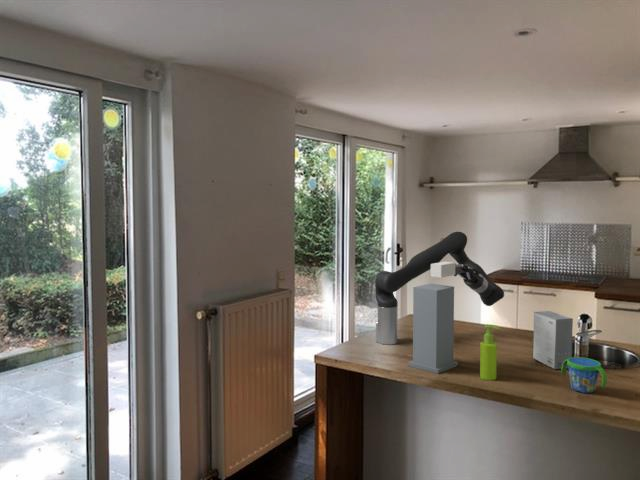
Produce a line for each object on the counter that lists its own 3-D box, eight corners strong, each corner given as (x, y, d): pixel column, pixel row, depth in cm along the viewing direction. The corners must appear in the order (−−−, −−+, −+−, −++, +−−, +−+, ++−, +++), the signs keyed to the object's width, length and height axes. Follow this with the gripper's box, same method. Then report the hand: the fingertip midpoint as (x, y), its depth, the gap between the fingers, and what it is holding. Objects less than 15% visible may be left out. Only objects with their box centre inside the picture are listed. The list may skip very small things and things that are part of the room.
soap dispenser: (497, 381, 191) (498, 328, 189) (478, 378, 195) (478, 325, 193) (500, 377, 196) (501, 324, 194) (482, 373, 200) (483, 322, 198)
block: (441, 277, 206) (441, 265, 206) (430, 276, 210) (430, 264, 209) (469, 271, 220) (469, 260, 220) (459, 270, 224) (459, 259, 224)
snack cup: (613, 395, 177) (614, 365, 177) (592, 400, 173) (593, 370, 172) (574, 380, 192) (575, 353, 191) (553, 385, 187) (554, 357, 186)
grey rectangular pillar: (437, 373, 200) (438, 291, 197) (408, 365, 210) (408, 287, 208) (457, 365, 210) (458, 286, 207) (428, 358, 220) (429, 282, 217)
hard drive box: (572, 368, 205) (573, 318, 203) (554, 370, 203) (555, 319, 202) (548, 356, 220) (550, 310, 218) (532, 358, 219) (533, 311, 217)
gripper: (464, 272, 235) (445, 256, 224) (493, 275, 225) (475, 258, 214) (459, 287, 233) (440, 272, 222) (488, 291, 223) (470, 275, 212)
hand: (457, 265), depth 218 cm, fingers closed on block, 4 cm apart
